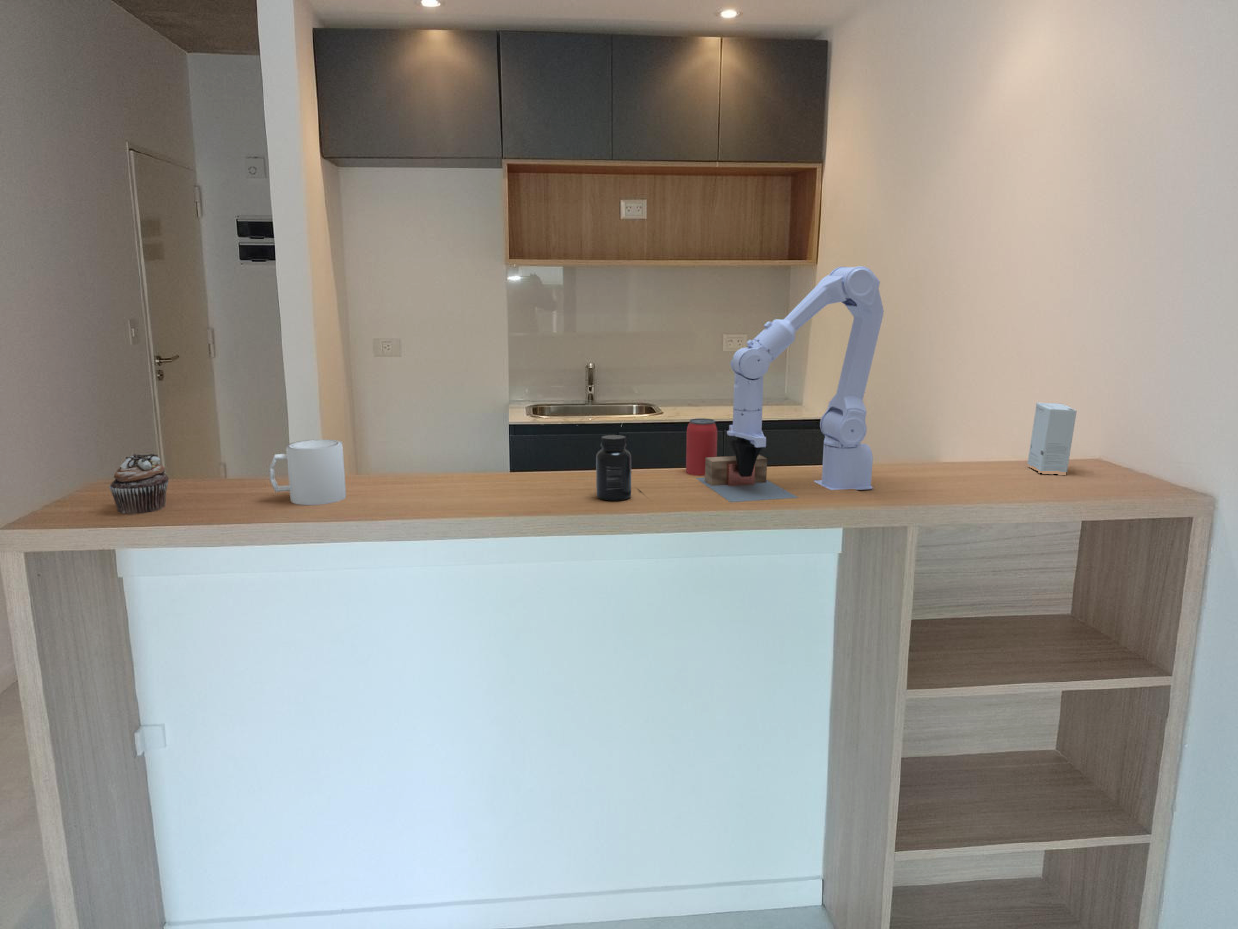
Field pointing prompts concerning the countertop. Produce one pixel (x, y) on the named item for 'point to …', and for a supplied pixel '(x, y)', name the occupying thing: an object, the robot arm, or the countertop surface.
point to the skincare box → (1051, 437)
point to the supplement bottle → (613, 469)
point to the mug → (313, 472)
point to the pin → (738, 476)
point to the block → (718, 469)
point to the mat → (750, 491)
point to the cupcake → (140, 485)
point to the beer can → (700, 444)
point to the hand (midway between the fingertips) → (745, 475)
